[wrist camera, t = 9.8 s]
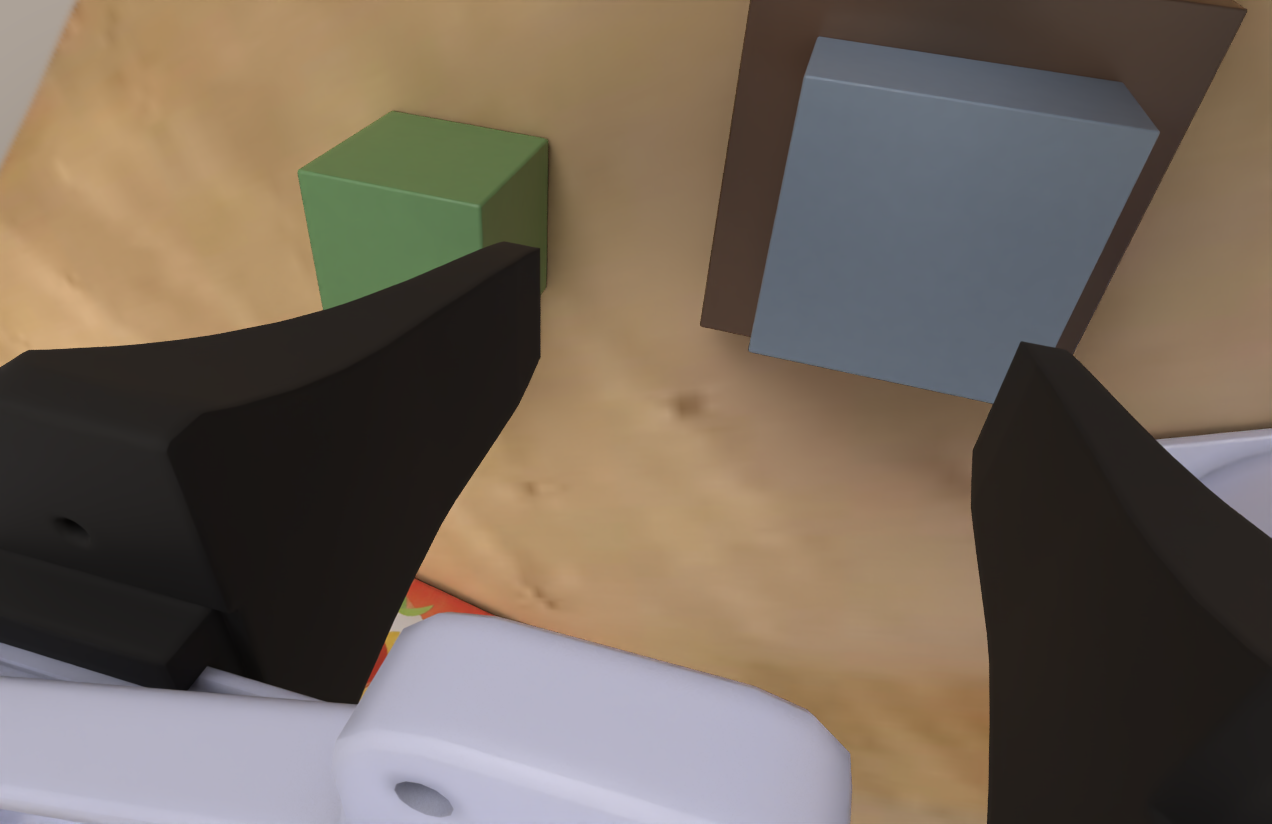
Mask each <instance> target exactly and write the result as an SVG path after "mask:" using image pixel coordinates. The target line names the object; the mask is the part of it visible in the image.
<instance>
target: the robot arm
mask: <svg viewBox="0 0 1272 824" xmlns="http://www.w3.org/2000/svg"><path fill="white" fill-rule="evenodd" d="M540 357H541V356H540V248H536V247H531V246H526V245H521V244H516V243H511V242H505V241H503V242H499V243H496V244H493V245H490V246H487V247H485V248H482V249H479V250H477V251H475V252H472V253H470V254H467V255H465V256H463V257H460V258H458V259H456V260H453V261H451V262H449V263H447V264H444V265H442V266H439V267H437V268H435V269H432V270H430V271H428V272H425V273H423V274H421V275H418V276H416V277H414V278H411V279H409V280H407V281H404V282H401V283H399V284H396V285H393V286H391V287H388V288H385V289H383V290H380V291H377V292H375V293H372V294H370V295H367V296H364V297H362V298H359V299H356V300H354V301H351V302H348V303H345V304H342V305H338V306H335V307H332V308H329V309H326V310H322V311H319V312H315V313H311V314H308V315H304V316H300V317H297V318H293V319H289V320H285V321H281V322H277V323H272V324H266V325H261V326H256V327H251V328H246V329H241V330H236V331H231V332H226V333H221V334H216V335H210V336H203V337H196V338H189V339H181V340H174V341H165V342H156V343H147V344H137V345H125V346H111V347H91V348H72V349H52V350H28V351H26V352H24V353H22V354H20V355H19V356H17V357H16V358H14V359H13V360H11V361H10V362H8V363H6V364H5V365H3V366H2V367H0V824H850V818H851V800H852V777H851V760H850V753H849V752H848V751H847V750H846V749H845V748H844V747H843V745H842V744H841V743H840V742H839V741H838V740H837V739H836V738H835V737H834V736H833V735H832V734H831V733H830V732H829V731H828V730H827V729H826V728H825V727H824V726H823V725H822V724H821V723H820V722H819V721H818V720H817V718H816V717H815V716H814V715H812V714H811V713H810V712H809V711H808V710H807V709H805V708H803V707H800V706H798V705H796V704H794V703H791V702H789V701H787V700H785V699H782V698H780V697H778V696H776V695H773V694H771V693H769V692H767V691H764V690H762V689H760V688H758V687H756V686H753V685H749V684H745V683H742V682H738V681H734V680H731V679H727V678H723V677H720V676H716V675H712V674H709V673H705V672H701V671H698V670H694V669H690V668H687V667H683V666H679V665H676V664H672V663H668V662H664V661H661V660H657V659H653V658H650V657H646V656H642V655H639V654H635V653H631V652H628V651H624V650H620V649H617V648H613V647H609V646H606V645H602V644H598V643H595V642H591V641H587V640H583V639H580V638H576V637H572V636H569V635H565V634H561V633H558V632H554V631H550V630H547V629H543V628H539V627H536V626H532V625H528V624H525V623H521V622H517V621H514V620H510V619H506V618H502V617H499V616H489V615H478V614H468V613H457V612H444V613H438V614H435V615H433V616H431V617H428V618H426V619H424V620H422V621H419V622H417V623H415V624H413V625H410V626H408V627H406V628H403V630H402V632H401V633H400V635H399V637H398V638H397V640H396V642H395V643H394V645H393V647H392V648H391V650H390V652H389V653H388V655H387V657H386V658H385V660H384V662H383V663H382V665H381V667H380V668H379V670H378V672H377V673H376V675H375V677H374V678H373V680H372V682H371V683H370V685H369V687H368V688H367V690H366V692H365V693H364V695H363V697H362V698H361V696H362V694H363V691H364V689H365V686H366V684H367V682H368V679H369V677H370V675H371V672H372V670H373V668H374V666H375V663H376V661H377V659H378V656H379V654H380V652H381V650H382V647H383V645H384V643H385V641H386V638H387V636H388V634H389V631H390V629H391V627H392V625H393V622H394V620H395V618H396V616H397V614H398V612H399V610H400V608H401V605H402V603H403V601H404V599H405V597H406V595H407V593H408V591H409V588H410V586H411V584H412V582H413V580H414V578H415V576H416V574H417V572H418V570H419V568H420V566H421V564H422V562H423V560H424V558H425V556H426V554H427V552H428V550H429V548H430V546H431V544H432V542H433V540H434V538H435V536H436V534H437V532H438V530H439V528H440V526H441V524H442V522H443V521H444V519H445V517H446V516H447V514H448V512H449V511H450V509H451V507H452V506H453V504H454V502H455V501H456V499H457V498H458V496H459V495H460V493H461V492H462V490H463V489H464V487H465V486H466V484H467V483H468V481H469V480H470V478H471V477H472V475H473V474H474V472H475V471H476V469H477V468H478V466H479V465H480V463H481V462H482V460H483V459H484V457H485V456H486V454H487V453H488V451H489V450H490V448H491V447H492V445H493V444H494V442H495V441H496V439H497V438H498V436H499V434H500V433H501V431H502V430H503V428H504V427H505V425H506V424H507V422H508V421H509V419H510V418H511V416H512V414H513V413H514V411H515V410H516V408H517V407H518V405H519V403H520V401H521V399H522V397H523V395H524V392H525V390H526V388H527V386H528V384H529V382H530V380H531V377H532V375H533V373H534V371H535V368H536V366H537V364H538V361H539V359H540ZM971 512H972V521H973V529H974V538H975V546H976V554H977V562H978V569H979V577H980V584H981V592H982V600H983V607H984V615H985V623H986V630H987V640H988V653H989V695H990V734H989V789H988V813H987V824H1272V428H1267V429H1257V430H1247V431H1237V432H1227V433H1217V434H1207V435H1197V436H1187V437H1176V438H1166V439H1156V440H1155V439H1154V438H1153V437H1152V436H1151V435H1150V434H1149V433H1148V432H1147V431H1146V430H1145V429H1144V428H1143V427H1142V426H1141V425H1140V424H1139V423H1138V422H1137V421H1136V420H1135V419H1134V418H1133V417H1132V416H1131V414H1130V413H1129V412H1128V411H1127V410H1126V409H1125V408H1124V407H1123V406H1122V405H1121V404H1120V403H1119V402H1118V401H1117V400H1116V399H1115V398H1114V397H1113V396H1112V395H1111V394H1110V393H1109V392H1108V390H1107V389H1106V388H1105V387H1104V386H1103V385H1102V384H1101V383H1100V382H1099V381H1098V380H1097V379H1096V378H1095V377H1094V376H1093V375H1092V374H1091V373H1090V372H1089V371H1088V370H1087V369H1086V368H1085V367H1084V366H1083V365H1082V364H1081V363H1080V362H1079V361H1078V360H1077V359H1076V358H1075V357H1074V356H1073V355H1072V354H1070V353H1069V352H1068V351H1067V350H1065V349H1059V348H1054V347H1049V346H1044V345H1039V344H1033V343H1028V342H1023V341H1021V342H1020V344H1019V346H1018V349H1017V351H1016V353H1015V355H1014V358H1013V360H1012V362H1011V364H1010V367H1009V369H1008V371H1007V374H1006V376H1005V378H1004V380H1003V383H1002V385H1001V387H1000V390H999V392H998V394H997V396H996V399H995V401H994V403H993V405H992V408H991V410H990V412H989V415H988V417H987V419H986V421H985V424H984V426H983V428H982V430H981V433H980V435H979V437H978V440H977V442H976V444H975V446H974V449H973V458H972V480H971ZM360 699H361V700H360Z"/></svg>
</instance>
